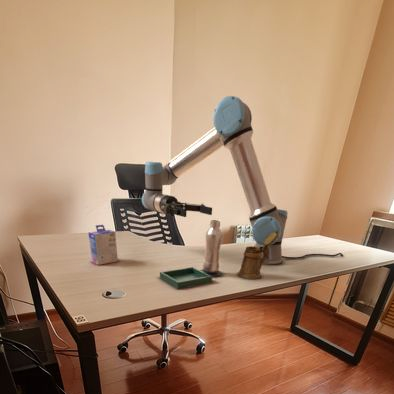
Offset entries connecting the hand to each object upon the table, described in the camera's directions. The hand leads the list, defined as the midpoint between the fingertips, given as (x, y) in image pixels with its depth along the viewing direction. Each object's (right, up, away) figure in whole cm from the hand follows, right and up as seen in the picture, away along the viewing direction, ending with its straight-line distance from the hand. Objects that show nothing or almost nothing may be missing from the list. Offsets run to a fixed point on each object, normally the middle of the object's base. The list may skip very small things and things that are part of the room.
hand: (199, 212), depth 120 cm
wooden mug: (+23, -23, +8) cm, 34 cm away
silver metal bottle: (+5, -23, +6) cm, 24 cm away
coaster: (+5, -23, +6) cm, 24 cm away
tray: (-5, -28, -3) cm, 28 cm away
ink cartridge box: (-40, -17, +10) cm, 45 cm away
